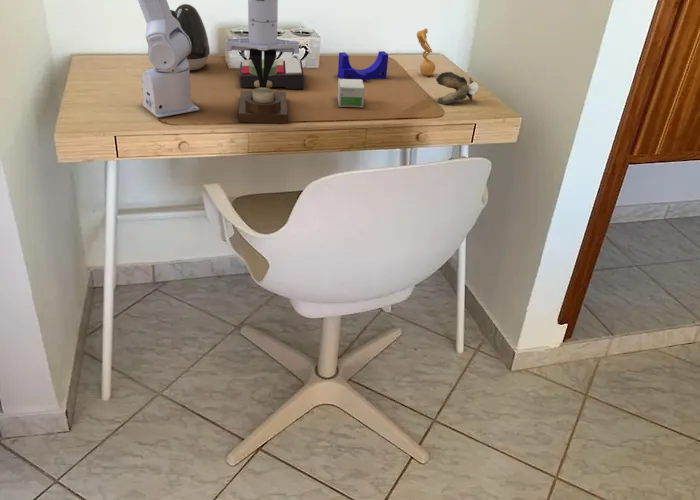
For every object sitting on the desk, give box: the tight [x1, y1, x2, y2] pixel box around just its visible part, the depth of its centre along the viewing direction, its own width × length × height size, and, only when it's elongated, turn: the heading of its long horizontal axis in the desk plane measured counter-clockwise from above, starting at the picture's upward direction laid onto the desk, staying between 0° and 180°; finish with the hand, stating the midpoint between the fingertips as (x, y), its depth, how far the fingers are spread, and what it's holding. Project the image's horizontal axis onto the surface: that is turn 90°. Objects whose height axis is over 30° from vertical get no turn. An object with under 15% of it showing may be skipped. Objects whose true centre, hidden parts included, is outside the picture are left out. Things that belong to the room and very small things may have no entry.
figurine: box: [416, 28, 436, 77], centre depth 172 cm, size 8×6×12 cm
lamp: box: [249, 59, 277, 89], centre depth 147 cm, size 6×6×5 cm
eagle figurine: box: [435, 71, 480, 105], centre depth 159 cm, size 8×7×9 cm
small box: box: [336, 78, 365, 109], centre depth 153 cm, size 6×6×5 cm
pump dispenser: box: [170, 3, 211, 72], centre depth 164 cm, size 10×10×15 cm
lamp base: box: [238, 90, 288, 124], centre depth 145 cm, size 14×10×4 cm
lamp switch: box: [251, 87, 275, 103], centre depth 141 cm, size 4×4×2 cm
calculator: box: [238, 58, 305, 90], centre depth 162 cm, size 11×4×15 cm
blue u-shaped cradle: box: [337, 50, 389, 82], centre depth 168 cm, size 12×4×6 cm, turn 108°
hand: (262, 85), depth 140 cm, fingers closed
